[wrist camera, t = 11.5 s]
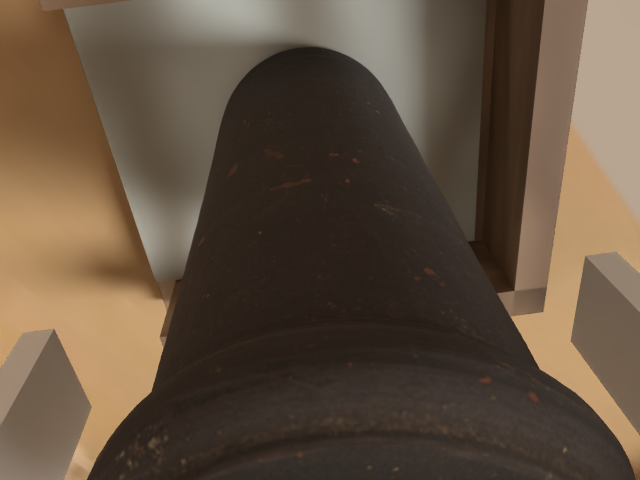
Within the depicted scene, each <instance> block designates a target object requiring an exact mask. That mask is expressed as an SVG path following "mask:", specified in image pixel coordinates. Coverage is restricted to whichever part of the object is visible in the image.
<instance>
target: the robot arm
mask: <svg viewBox="0 0 640 480" xmlns="http://www.w3.org/2000/svg"><path fill="white" fill-rule="evenodd" d="M571 342H572V343H573V345H574V346H575V347H576V349H577V350H578V351H579V353H580V354H581V355H582V357H583V358H584V360H585V361H586V362H587V364H588V365H589V366H590V368H591V369H592V371H593V372H594V373H595V375H596V376H597V377H598V379H599V380H600V382H601V383H602V384H603V386H604V387H605V388H606V390H607V391H608V392H609V394H610V395H611V397H612V398H613V399H614V401H615V402H616V403H617V405H618V406H619V408H620V409H621V410H622V412H623V413H624V414H625V416H626V417H627V418H628V420H629V421H630V423H631V424H632V425H633V427H634V428H635V429H636V431H637V432H638V434H639V435H640V273H638V272H637V271H636V270H635V269H634V268H633V267H632V266H631V265H630V264H629V263H628V262H627V261H626V260H624V259H623V258H622V257H621V256H620V255H619V254H618V253H617V252H610V253H603V254H596V255H588V256H585V261H584V267H583V273H582V279H581V284H580V290H579V296H578V302H577V307H576V313H575V319H574V325H573V331H572V336H571ZM90 410H91V405H90V403H89V401H88V399H87V397H86V394H85V392H84V390H83V388H82V386H81V384H80V382H79V380H78V378H77V376H76V374H75V371H74V369H73V367H72V365H71V363H70V361H69V359H68V357H67V355H66V353H65V351H64V348H63V346H62V344H61V342H60V340H59V338H58V336H57V334H56V332H55V330H54V329H49V330H41V331H34V332H27V333H22V335H21V337H20V338H19V340H18V341H17V343H16V345H15V346H14V348H13V349H12V351H11V353H10V354H9V356H8V357H7V359H6V361H5V362H4V364H3V365H2V367H1V369H0V480H64V478H65V475H66V473H67V470H68V468H69V465H70V462H71V460H72V457H73V455H74V452H75V449H76V447H77V444H78V441H79V439H80V436H81V434H82V431H83V428H84V426H85V423H86V421H87V418H88V415H89V413H90Z"/></svg>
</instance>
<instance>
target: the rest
mask: <svg viewBox="0 0 640 480" xmlns="http://www.w3.org/2000/svg"><path fill="white" fill-rule="evenodd" d="M39 2H40V5H41V8H42V10H43V12H45V11H53V10H60V9H63V11H64V13H65V16H66V19H67V22H68V25H69V28H70V31H71V34H72V37H73V40H74V43H75V46H76V49H77V52H78V55H79V58H80V61H81V64H82V66H83V69H84V72H85V75H86V78H87V81H88V84H89V87H90V90H91V93H92V96H93V99H94V102H95V105H96V108H97V111H98V114H99V117H100V119H101V122H102V125H103V128H104V131H105V134H106V137H107V140H108V143H109V146H110V149H111V152H112V155H113V158H114V161H115V164H116V167H117V170H118V172H119V175H120V178H121V181H122V184H123V187H124V190H125V193H126V196H127V199H128V202H129V205H130V208H131V211H132V214H133V217H134V220H135V223H136V225H137V228H138V231H139V234H140V237H141V240H142V243H143V246H144V249H145V252H146V255H147V258H148V261H149V264H150V267H151V270H152V273H153V276H154V278H155V281H156V282H157V283H158V286H159V289H160V292H161V295H162V298H163V301H164V304H165V307H166V310H167V314H166V317H165V321H164V324H163V328H162V331H161V335H160V339H161V342H162V345H163V347H164V345H165V342H166V338H167V334H168V331H169V327H170V322H171V319H172V315H173V312H174V308H175V305H176V301H177V298H178V293H179V289H180V285H181V282H182V279H183V275H184V271H185V266H186V262H187V259H188V255H189V251H190V248H191V244H192V240H193V236H194V232H195V229H196V226H197V222H198V218H199V213H200V209H201V205H202V202H203V198H204V194H205V190H206V185H207V181H208V177H209V172H210V168H211V164H212V160H213V156H214V151H215V147H216V142H217V138H218V133H219V129H220V125H221V121H222V118H223V115H224V111H225V108H226V106H227V103H228V101H229V99H230V97H231V94H232V93H233V91H234V90H235V88H236V87H237V85H238V84H239V82H240V81H241V80H242V79H243V78H244V77H245V75H246V74H247V73H248V72H249V71H250V70H251V69H253V68H254V67H255V66H256V65H258V64H259V63H260V62H262V61H264V60H265V59H267V58H269V57H271V56H273V55H275V54H277V53H280V52H283V51H286V50H290V49H296V48H304V47H319V48H325V49H330V50H334V51H337V52H340V53H342V54H345V55H347V56H349V57H351V58H353V59H354V60H356V61H358V62H359V63H361V64H362V65H363V66H365V67H366V68H367V69H368V70H369V71H370V72H371V73H372V74H373V75H374V76H375V77H376V78H377V79H378V80H379V82H380V83H381V84H382V86H383V87H384V89H385V90H386V92H387V93H388V95H389V97H390V98H391V100H392V102H393V104H394V105H395V108H396V110H397V112H398V113H399V115H400V117H401V119H402V121H403V123H404V125H405V126H406V128H407V130H408V132H409V133H410V135H411V137H412V138H413V140H414V143H415V144H416V146H417V147H418V150H419V152H420V154H421V156H422V158H423V159H424V161H425V163H426V165H427V167H428V168H429V170H430V172H431V174H432V175H433V177H434V179H435V181H436V183H437V185H438V187H439V188H440V190H441V192H442V194H443V196H444V197H445V199H446V201H447V203H448V205H449V207H450V209H451V210H452V212H453V214H454V216H455V218H456V220H457V222H458V224H459V226H460V228H461V229H462V231H463V233H464V235H465V237H466V239H467V241H468V243H469V245H470V246H471V248H472V250H473V252H474V254H475V256H476V258H477V260H478V261H479V263H480V265H481V266H482V268H483V269H484V271H485V273H486V275H487V277H488V278H489V280H490V282H491V284H492V286H493V287H494V289H495V291H496V293H497V294H498V296H499V298H500V300H501V301H502V303H503V305H504V306H505V308H506V310H507V312H508V313H509V315H510V316H516V315H524V314H532V313H539V312H543V310H544V303H545V296H546V289H547V282H548V275H549V268H550V261H551V254H552V247H553V240H554V234H555V227H556V220H557V213H558V206H559V199H560V192H561V185H562V178H563V171H564V164H565V157H566V150H567V143H568V136H569V129H570V122H571V115H572V108H573V101H574V95H575V87H576V81H577V73H578V67H579V59H580V53H581V46H582V39H583V32H584V25H585V18H586V11H587V4H588V0H39Z"/></svg>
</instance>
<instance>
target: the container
mask: <svg viewBox="0 0 640 480" xmlns="http://www.w3.org/2000/svg"><path fill="white" fill-rule="evenodd" d="M87 480H636V479H635V476H634V472H633V469H632V466H631V464H630V461H629V459H628V457H627V455H626V453H625V451H624V449H623V447H622V445H621V444H620V442H619V441H618V439H617V438H616V437H615V435H614V434H613V433H612V431H611V430H610V429H609V428H608V426H607V425H606V424H605V423H604V421H603V420H602V419H601V418H600V417H599V416H598V414H597V413H596V412H595V411H594V410H593V409H592V408H591V407H590V406H589V405H588V404H587V403H586V402H585V401H584V400H583V399H582V398H580V397H579V396H578V395H577V394H576V393H575V392H573V391H572V390H570V389H569V388H567V387H566V386H564V385H563V384H561V383H560V382H559V381H557V380H556V379H554V378H553V377H551V376H550V375H548V374H546V373H545V372H543V371H542V370H540V369H539V367H538V365H537V363H536V362H535V360H534V358H533V356H532V354H531V352H530V350H529V349H528V347H527V345H526V343H525V341H524V340H523V338H522V336H521V334H520V333H519V331H518V329H517V327H516V326H515V324H514V322H513V321H512V319H511V317H510V315H509V313H508V312H507V310H506V308H505V306H504V305H503V303H502V301H501V300H500V298H499V296H498V294H497V293H496V291H495V289H494V287H493V286H492V284H491V282H490V280H489V278H488V277H487V275H486V273H485V271H484V269H483V268H482V266H481V265H480V263H479V261H478V260H477V258H476V256H475V254H474V252H473V250H472V248H471V246H470V245H469V243H468V241H467V239H466V237H465V235H464V233H463V231H462V229H461V228H460V226H459V224H458V222H457V220H456V218H455V216H454V214H453V212H452V210H451V209H450V207H449V205H448V203H447V201H446V199H445V197H444V196H443V194H442V192H441V190H440V188H439V187H438V185H437V183H436V181H435V179H434V177H433V175H432V174H431V172H430V170H429V168H428V167H427V165H426V163H425V161H424V159H423V158H422V156H421V154H420V152H419V150H418V147H417V146H416V144H415V143H414V140H413V138H412V137H411V135H410V133H409V132H408V130H407V128H406V126H405V125H404V123H403V121H402V119H401V117H400V115H399V113H398V112H397V110H396V108H395V105H394V104H393V102H392V100H391V98H390V97H389V95H388V93H387V92H386V90H385V89H384V87H383V86H382V84H381V83H380V82H379V80H378V79H377V78H376V77H375V76H374V75H373V74H372V73H371V72H370V71H369V70H368V69H367V68H366V67H365V66H363V65H362V64H361V63H359V62H358V61H356V60H354V59H353V58H351V57H349V56H347V55H345V54H342V53H340V52H337V51H334V50H330V49H325V48H319V47H304V48H296V49H290V50H286V51H283V52H280V53H277V54H275V55H273V56H271V57H269V58H267V59H265V60H264V61H262V62H260V63H259V64H258V65H256V66H255V67H254V68H253V69H251V70H250V71H249V72H248V73H247V74H246V75H245V77H244V78H243V79H242V80H241V81H240V82H239V84H238V85H237V87H236V88H235V90H234V91H233V93H232V94H231V97H230V99H229V101H228V103H227V106H226V108H225V111H224V115H223V118H222V121H221V125H220V129H219V133H218V138H217V142H216V147H215V151H214V156H213V160H212V164H211V168H210V172H209V177H208V181H207V185H206V190H205V194H204V198H203V202H202V205H201V209H200V213H199V218H198V222H197V226H196V229H195V232H194V236H193V240H192V244H191V248H190V251H189V255H188V259H187V262H186V266H185V271H184V275H183V279H182V282H181V285H180V289H179V293H178V298H177V301H176V305H175V308H174V312H173V315H172V319H171V322H170V327H169V331H168V334H167V338H166V342H165V345H164V349H163V352H162V356H161V359H160V363H159V366H158V370H157V374H156V378H155V382H154V385H153V388H152V392H151V393H150V394H149V395H148V396H147V397H146V398H144V399H143V400H142V401H141V402H140V403H139V404H138V405H137V406H136V407H135V408H134V409H133V410H132V411H131V412H130V413H129V415H128V416H127V417H126V418H125V419H124V420H123V421H122V422H121V424H120V425H119V426H118V428H117V429H116V430H115V432H114V433H113V434H112V436H111V437H110V438H109V440H108V441H107V443H106V445H105V446H104V448H103V450H102V451H101V453H100V454H99V456H98V457H97V459H96V461H95V464H94V466H93V468H92V470H91V472H90V474H89V476H88V479H87Z"/></svg>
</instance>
